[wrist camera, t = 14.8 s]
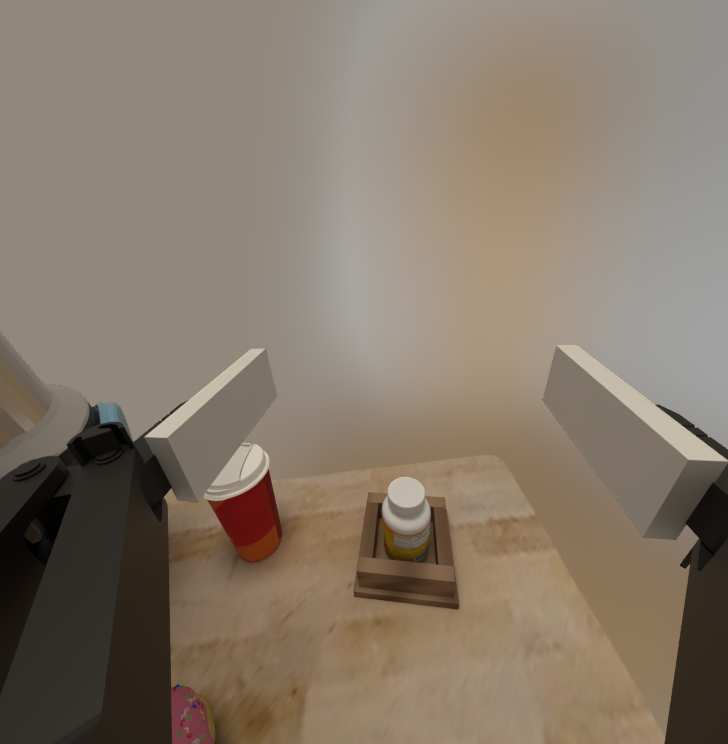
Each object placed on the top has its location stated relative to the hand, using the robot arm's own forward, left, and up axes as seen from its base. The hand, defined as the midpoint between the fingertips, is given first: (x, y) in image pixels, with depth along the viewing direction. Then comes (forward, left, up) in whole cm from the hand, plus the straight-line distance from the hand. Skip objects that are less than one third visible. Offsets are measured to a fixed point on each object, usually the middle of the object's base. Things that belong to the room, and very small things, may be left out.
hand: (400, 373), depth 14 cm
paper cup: (-19, +9, -30) cm, 37 cm away
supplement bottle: (0, +10, -29) cm, 31 cm away
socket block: (0, +10, -30) cm, 32 cm away
